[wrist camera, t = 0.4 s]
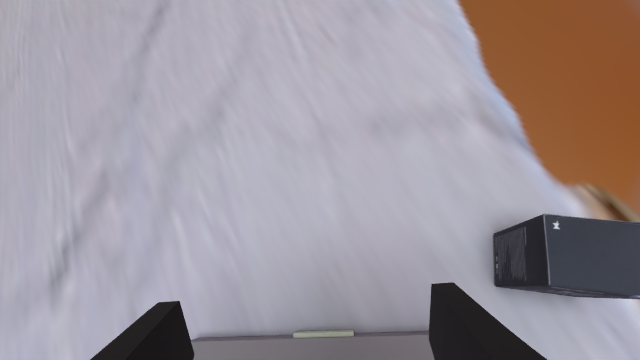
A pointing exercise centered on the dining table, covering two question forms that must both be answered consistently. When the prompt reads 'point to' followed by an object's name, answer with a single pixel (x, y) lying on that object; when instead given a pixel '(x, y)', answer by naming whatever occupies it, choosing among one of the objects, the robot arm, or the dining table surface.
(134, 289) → the dining table surface
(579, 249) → the box
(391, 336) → the button panel
